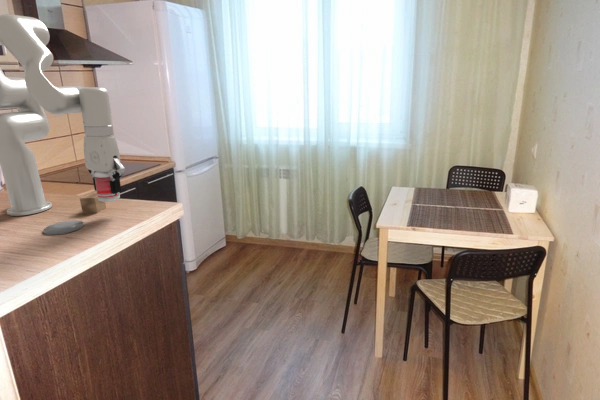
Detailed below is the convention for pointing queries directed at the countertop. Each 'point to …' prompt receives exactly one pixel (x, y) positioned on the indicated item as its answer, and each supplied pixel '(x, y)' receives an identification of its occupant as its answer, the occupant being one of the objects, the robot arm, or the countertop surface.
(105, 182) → the pill bottle
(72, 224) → the coaster
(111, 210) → the countertop surface
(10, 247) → the countertop surface
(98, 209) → the light brown wooden block
